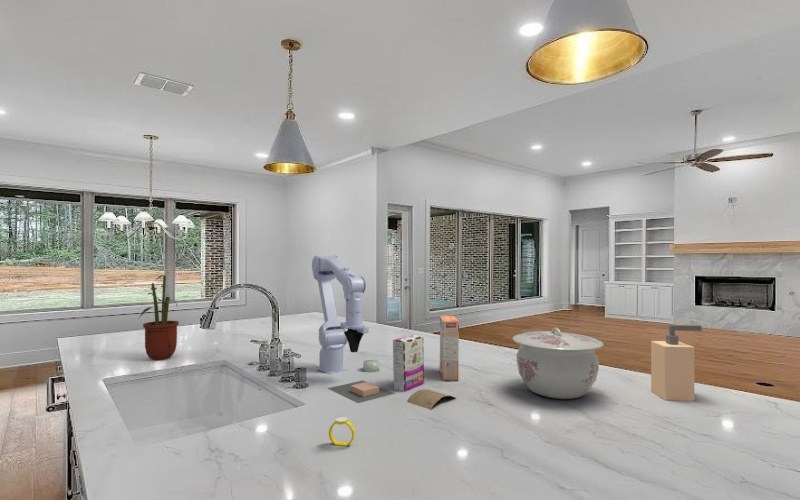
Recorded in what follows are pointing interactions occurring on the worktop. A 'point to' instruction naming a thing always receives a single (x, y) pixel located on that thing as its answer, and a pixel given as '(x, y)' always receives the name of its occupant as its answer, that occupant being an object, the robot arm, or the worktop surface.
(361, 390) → the tile
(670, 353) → the soap dispenser
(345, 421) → the watch
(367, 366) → the pale green dome
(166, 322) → the potted plant
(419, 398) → the clay tablet
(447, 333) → the cracker box
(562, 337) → the chamber pot
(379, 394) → the mat
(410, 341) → the candy bar box
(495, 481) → the worktop surface
